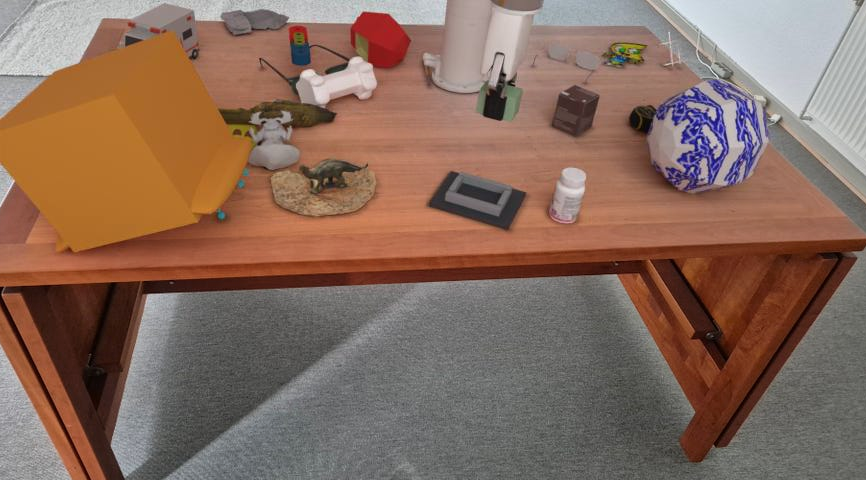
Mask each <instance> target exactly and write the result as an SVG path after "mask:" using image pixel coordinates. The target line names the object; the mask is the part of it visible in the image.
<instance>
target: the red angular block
mask: <svg viewBox="0 0 866 480" xmlns="http://www.w3.org/2000/svg"><path fill="white" fill-rule="evenodd" d="M349 29H350V33H349V34H350V35H349V37H350V38H349V39H350V46H351V47H352V48H353V49H354V50H355V52H356V53H357V54H358V56H359V57H362V59H363V61H365V62H367V63H371V64H372V65H373V67H377V68H390V69H391V68H393V67H394V66H396V65H398V64H399V63H401V62H403V61H404V59H405V57H406V55H407V52H408V50H409V47H410V45H411V42H412V39H411V38H410V36H409V35H408V34H407V33H406V31H405V30H404V28H403V27H402V26H401V25H400V23H398V21H397V20H396V19H395V18H394V17H393V16H392V15H391V14H389V13H383V12H375V11H374V12H373V11H362V12H361V13H360V15H359V16H357V17H356V19H355V21H354V22H353V23H352V25H351V27H350V28H349Z"/></svg>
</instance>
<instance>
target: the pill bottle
mask: <svg viewBox="0 0 866 480" xmlns="http://www.w3.org/2000/svg"><path fill="white" fill-rule="evenodd" d="M586 180H587V173H585V171H583V170H582V169H580V168H577V167H572V166H571V167H565V168H563V169H562V171H561V173H560V177H559V179H558V180H557V181H556V183H555V186H554V191H553V194H552V199H551V202H550V205H549V210H548V214H549V216H550V217H549V218H551V219H552V220H553V221H555V222H557V223H561V224H572V223H574V222H575V221H577V220H578V219H577V218H578V216H579V212H580V209H581V205H582V202H583V199H584V196H585V192H586V185H585V184H586Z"/></svg>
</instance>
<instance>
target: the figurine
mask: <svg viewBox="0 0 866 480" xmlns="http://www.w3.org/2000/svg"><path fill="white" fill-rule="evenodd" d="M281 112H282V113H283V115H284V116H283V118H279V117H278V118H275V119H265V118H263V119H259V115H260V113H261V112H257V113H255V114H253V115H252V116H251V120H252V121H249V122H250V123H252V124H254V125H257V126H261V128H260V129H259V131H258V130H257V134H256V136H255V134H254V129H253V130H252V127H251V128H250V132H249V133H250V134H251V136H252V138H253V143H254V142H256V147H254V149H253V150H252V151H251V153H250V157H249V160H248V164H249V165H251V166H254V167H264V168H266V169H267V170H270V171H275V170H278V169H284V168H285V169H286V168H287V167H290V166H293V165H294V164H295V163H297V162H299V160H300V158H301V152H300V150H299V149H298V148H297V147H295V146H293V145H291V144H286V142H288V141H290V140H291V138H292V137H291V135H292V134H293V131H294V129H293V127H291V126H289V127H287V130H286V129H285V128H284V126H282V125H281V124H284V123H287V122H290V121H292V120H293V119H291V114H290V113H289V112H285V111H281ZM252 117H253V118H252ZM276 120H279V121H281V123H279V122H278V121H276ZM262 121H266V123H265V124H263V125H262V124H261V122H262ZM260 142H261V144H260V145H258V146H257V143H258V144H259V143H260Z"/></svg>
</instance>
